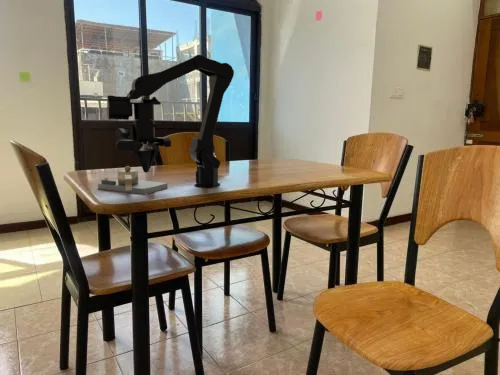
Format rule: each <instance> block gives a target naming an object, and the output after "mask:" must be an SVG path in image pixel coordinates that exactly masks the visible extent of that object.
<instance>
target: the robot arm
mask: <svg viewBox="0 0 500 375" xmlns="http://www.w3.org/2000/svg"><path fill="white" fill-rule="evenodd" d="M194 71H198V72H200V73H201V74H203V75H204V76H206V77H209V79H208V85H209V93H208V97H207V100H206V101H207V102H206V105H205V109H204V112H203V118H202V122H201V125H200V129H199V133H198V135H197V136H196V138H195V137H191V140H190V146H189V148H188V151H189V155H190V158H191V159H192V160H193V161H194V162H195V166H196V170H195V184H194V185H193V186H195V187H203V188H214V187H217V186H219V185H221V182H219V168H220V165H221V161H220V159H218V158H217V156H216V155H215V154H214V155H213V153H214V146H215V144H214V134H215V130H216V127H217V126H216V125H217V122H218V118H219V114H220V112H221V111H220V110H221V106H222V102H223V99H224V95H225V93H226V92H227V90H228V88H229V87H230V85H231V83H232V80H233V78H234V74H235V70H234V69H233V67H232V66H231V64H229V63H227V62H219V61H217V60H214V59H211V58H208V57H205V56H203V55H202V54H195V55H193V56H191V58H188V59H186V60H183V61H182V62H180V63H177V64H175V65H173V66H171V67H168V68H166V69H164V70H162V71H159V72H153V73H149V74H144V75H141V76H139V77H136V78H135V79H133V81H132V83H131V89H130V91H129V92H128V93H127V94H126V96H116V95H110V94H109V95H107V96H106V98H107V99H106V100H107V101H106V108H105V109H106V118H107V120H109V121H110V120H111V121H115V120H116V121H128V120H129V119H130V117H133V120H134V121H133V122H134V123H131V124H130V128H129V129H124V128H123V127H122V128H117V129H115V139H116V143H115V148H116V149H115V150H116V151H125V152H127V151H129V152H132V153H133V154H135V155H136V156H137V158H138V161H139V163H140V165H141V168H142V170H143V172H144V173H149V172H150V169H151V167H152V164H153V163H154V161H155V159H156V157H157V154H158V153H159V152H160V151H161V148H157V146H158V147H164V148H169V147H172V140H171V139H170V138H169V137H160V136H157V137H155V136H156V135H155V128H158V123H155V108H154V107H155V105H156V106H160V105H161V103H162V102H161V101H159V99H157V97H156V96H152V97H151V98H145V97H149V96H151V95H153V94H154V93H156V92H157V91H159V89H161V88H162V87H164V86H165V85H167V84H168V83H170V82H172V81H175V80H176V79H179V78H180V77H183V76H185V75H187V74H190V73H192V72H194ZM138 99H140V101H139V102H138V101H137V102H135V101H134V100H138ZM215 156H216V157H215ZM197 166H198V167H197Z"/></svg>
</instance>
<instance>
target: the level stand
mask: <svg viewBox="0 0 500 375" xmlns="http://www.w3.org/2000/svg"><path fill="white" fill-rule="evenodd" d="M100 180H101V182H99V183H98V184H97V188H98V190H99V189H100V190H109V191H117V192H125V193H132V194H140V195H142V194H143V195H146V194H151V193H153V192H158V191H160V190H165V188H166V189H168V187H169V186H168V183H167V182H159V181H151V180H150V181H149V180H148V181H147V180H142V179H141V180H140V179H138V183H136V184H132V190H125V184H118V179H113V180H111V179H109V177H108V176H106V175H105V176H104V177H103V179H100Z"/></svg>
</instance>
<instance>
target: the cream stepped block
mask: <svg viewBox="0 0 500 375" xmlns="http://www.w3.org/2000/svg"><path fill="white" fill-rule="evenodd" d="M117 180H118V184H125V190H132V184H136V183H138V180H139V171H138V170H135V169H132V168H131V167H130V166H129V165H126V166H125V167H124V170H118V171H117Z"/></svg>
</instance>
